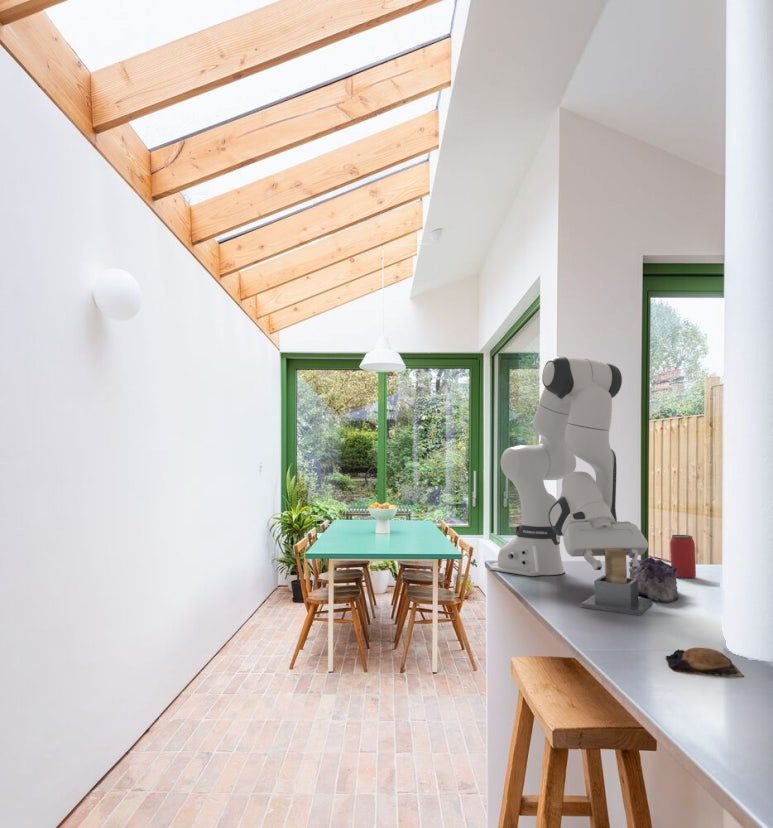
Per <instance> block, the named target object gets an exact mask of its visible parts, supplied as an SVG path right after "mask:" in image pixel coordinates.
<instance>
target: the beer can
mask: <svg viewBox="0 0 773 828" xmlns="http://www.w3.org/2000/svg"><path fill="white" fill-rule="evenodd" d="M669 541H670V543H669V549H670V552H669V553H670V565H671V567H672V566H675V568H677V570H676V573H677V576H676V577H677V579H685V580H686V579H687V580H689V579H691V580H692V579H694V578H696V576H697V570H696V569H697V568H696V566H697V565H696V545H695V544H696V543H695V541H694V539H693V535H689V534H688V535H687V534H671V538H670V540H669Z"/></svg>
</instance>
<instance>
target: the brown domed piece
mask: <svg viewBox="0 0 773 828" xmlns="http://www.w3.org/2000/svg"><path fill="white" fill-rule="evenodd" d="M665 660H666V662H667V665H668V667H669V668H670V669H671V670H672V671H673V672H675V673H681V674H682V673H683V674H690V675H702V676H713V677H714V676H715V677H716V676H717V677H728V678H729V677H732V678H733V677H734V678H744V676H745V675H744V674H743V673H742V672H741V670H740V669H738V667H737V666H736V665H735V664H734V663H733V662H732V660H731V659H730V658H729V657H727V655H725V654H724V653H723V652H722V651H719V650H717V649H713V648H709V647H691V648H688V649H686V650H684V649H677V650H674V652H673V653H672V654H670V655H666V656H665Z"/></svg>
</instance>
